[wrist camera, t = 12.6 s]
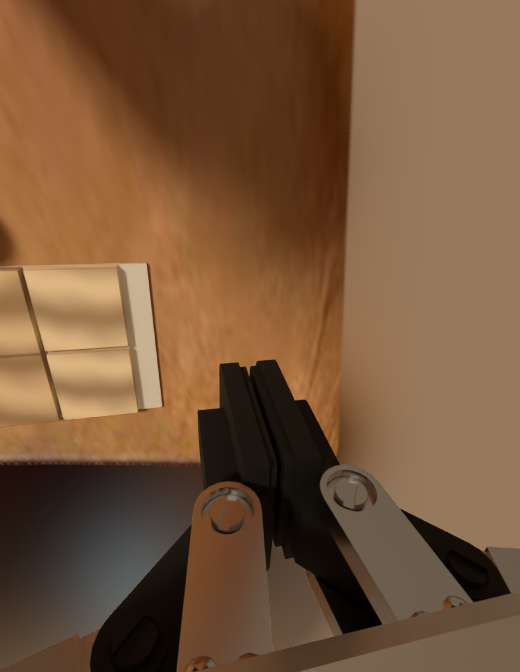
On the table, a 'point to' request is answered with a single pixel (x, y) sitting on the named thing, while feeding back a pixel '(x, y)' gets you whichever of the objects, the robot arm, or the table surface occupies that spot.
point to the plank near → (78, 306)
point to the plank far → (94, 381)
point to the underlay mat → (135, 330)
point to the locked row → (22, 358)
